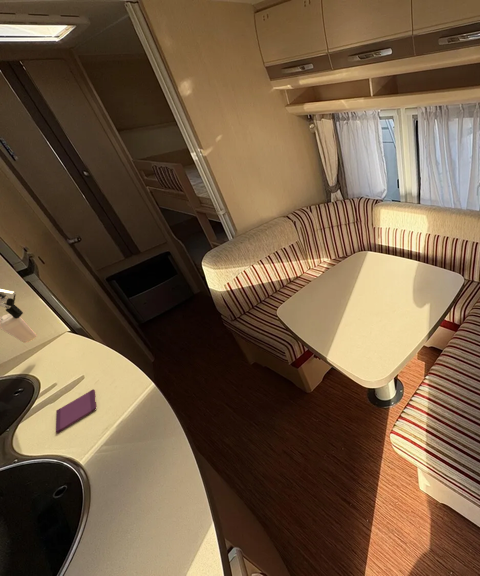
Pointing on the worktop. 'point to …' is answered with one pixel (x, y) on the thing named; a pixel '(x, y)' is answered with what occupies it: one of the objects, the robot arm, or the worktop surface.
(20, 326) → the smoothie
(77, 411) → the towel mat
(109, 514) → the worktop surface
